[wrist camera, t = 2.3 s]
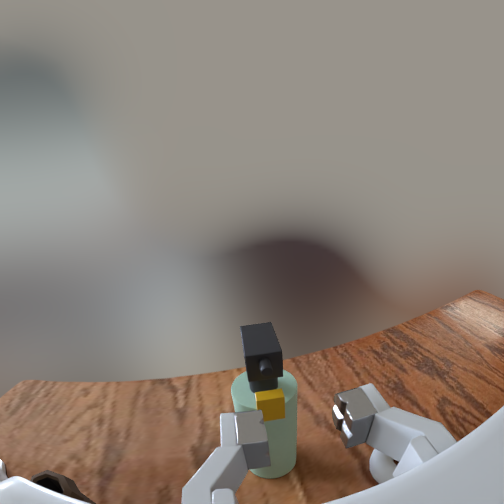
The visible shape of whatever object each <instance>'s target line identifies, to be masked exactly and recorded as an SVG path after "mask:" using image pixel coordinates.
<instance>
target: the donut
mask: <svg viewBox="0 0 504 504" xmlns="http://www.w3.org/2000/svg"><path fill="white" fill-rule="evenodd" d="M396 467H397V465H396V464H395V463H394V462H393V458H391V457H389V456H387V455H386V454H384V453H382V452H380V451H379V450H377V449H374V450H373V452H372V455H371V458H370V472H371V474H372V476H373V478H374V479H375V480H376V481H377V482H378V483H379V484H381V483H383V482H386V481H388V480H390V479H392V478H394V476H393V475H392V474H393V472H394V470H395V468H396Z"/></svg>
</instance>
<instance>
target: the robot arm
mask: <svg viewBox="0 0 504 504" xmlns="http://www.w3.org/2000/svg"><path fill="white" fill-rule="evenodd" d="M334 403H335V404H336V405H335V406H334V407H333V410H332V417H333V422H334V425H335V427H336V429H337V430H339V431H341V435H340V437H341V439H342V442H343V444H344V446H345V448H349V447H353V446H356V445H359V444H362V443H365V442H366V443H367V444H368V445H370V446H372V447H373V448H375V449H377V450H379V451H380V452H382V453H384V454H386V455H387V456H389V457H391V458H393V459H395V460H396V461H398V462H399V463H398V465H397V467H396V468H395V470H394V472H393V474H392V475H393V476H394V478H392V479H390V480H388V481H386V482H383V483H381V484H379V485H376V486H374V487H371V488H369V489H366V490H363V491H361V492H358V493H355V494H352V495H349V496H346V497H343V498H340V499H337V500H334V501H330V502H327V503H323V504H504V406H503V407H502V408H501V409H499V410H498V411H497V412H496V413H495V414H494V415H493V416H491V417H490V418H489V419H488V420H486V421H485V422H484V423H483V424H481V425H480V426H479V427H478V428H476V429H475V430H474V431H472V432H471V433H470V434H468V435H467V436H465V437H464V438H463V439H461V440H460V441H458V442H457V441H456V440H455V439H454V437H453V436H452V435H451V434H450V433H449V432H448V430H447V429H446V428H445V427H444V426H443V424H442V423H440V422H436V421H433V420H430V419H427V418H424V417H421V416H418V415H415V414H412V413H410V412H407V411H404V410H401V409H398V408H396V407H392V408H390V406H389V405H388V404H387V402H386V401H385V400H384V398H383V397H382V396H381V394H380V393H379V392H378V391H377V389H376V388H375V387H374V385H373V384H371V383H370V384H367V385H364V386H361V387H357V388H354V389H351V390H347V391H344V392H341V393H337V394H335V396H334ZM220 430H221V447H217V448H216V449H215V450H214V452H213V453H212V454H211V455H210V457H209V458H208V459H207V460H206V462H205V463H204V464H203V465H202V466H201V468H200V469H199V470H198V471H197V472H196V473H195V475H194V476H193V477H192V478H191V479H190V480H189V482H188V483H187V484H186V485H185V486H184V487H183V488H182V504H239V503H238V500H237V498H236V496H235V493H236V491H237V490H238V488H239V486H240V485H241V483H242V481H243V479H244V478H245V476H246V474H247V472H248V470H250V469H257V468H263V467H269V466H271V461H270V454H269V444H268V438H267V433H266V428H265V426H264V419H263V413H262V409H261V410H253V411H244V412H235V413H222V414H221V415H220ZM0 504H91V503H87V502H84V501H81V500H77V499H74V498H71V497H68V496H65V495H63V494H60V493H57V492H55V491H52V490H49V489H47V488H44V487H42V486H40V485H37V484H35V483H33V482H31V481H29V480H27V479H25V478H22V477H19V476H14V477H11V478H7V476H6V468H5V464H4V463H3V462H2V461H1V460H0Z"/></svg>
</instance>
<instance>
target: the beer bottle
mask: <svg viewBox="0 0 504 504" xmlns="http://www.w3.org/2000/svg"><path fill="white" fill-rule="evenodd" d="M30 481H31V482H33V483H35V484H37V485H40V486H42V487H44V488H47V489H49V490H52V491H55V492H57V493H60V494H63V495H65V496H68V497H71V498H74V499H77V500H81V501H84V502H87V503H91V504H96V503H94V502H93V501H92V500H90V499H89V498H87V497H86V496H85V495H83V494H82V493H81V492H80V491H79V489H78V488H77V486H76V484H75V482H74V481H73V480H71V479H69V478H67V477H65V476H63V475H60V474H57V473H54V472H52V471H49V470H46V471H44V472H41V473H39V474H36V475H34V476H32V478H31V480H30Z"/></svg>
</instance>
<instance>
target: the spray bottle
mask: <svg viewBox="0 0 504 504" xmlns="http://www.w3.org/2000/svg"><path fill="white" fill-rule="evenodd" d="M240 330H241V336H242V344H243V351H244V358H245V364H246V372H244V373H242V374H241V375H239V376H238V377H237V378H236V379H235V380H234V382H233V384H232V387H231V393H232V398H233V403H234V408H235V412H244V411H253V410H257V407H256V399H255V392H261V391H268V390H274V389H280V388H282V390H283V393H284V396H285V418H283V419H278V420H272V421H266V422H264V426H265V428H266V433H267V438H268V444H269V454H270V461H271V466H269V467H263V468H257V469H250V470H251V472H252V473H254V474H255V475H257V476H259V477H262V478H278V477H281V476H284V475H285V474H287V473H289V472H290V471H291V470H292V469H293V467H294V465H295V463H296V444H297V382H296V380H295V378H294V377H293V376H292V375H291V374H290V373H289V372H287V371H285V370H283V360H282V350H281V347H280V344H279V342H278V339H277V336H276V334H275V331H274V329H273V326H272V323H271V322H268V323H261V324H254V325H246V326H240Z"/></svg>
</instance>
